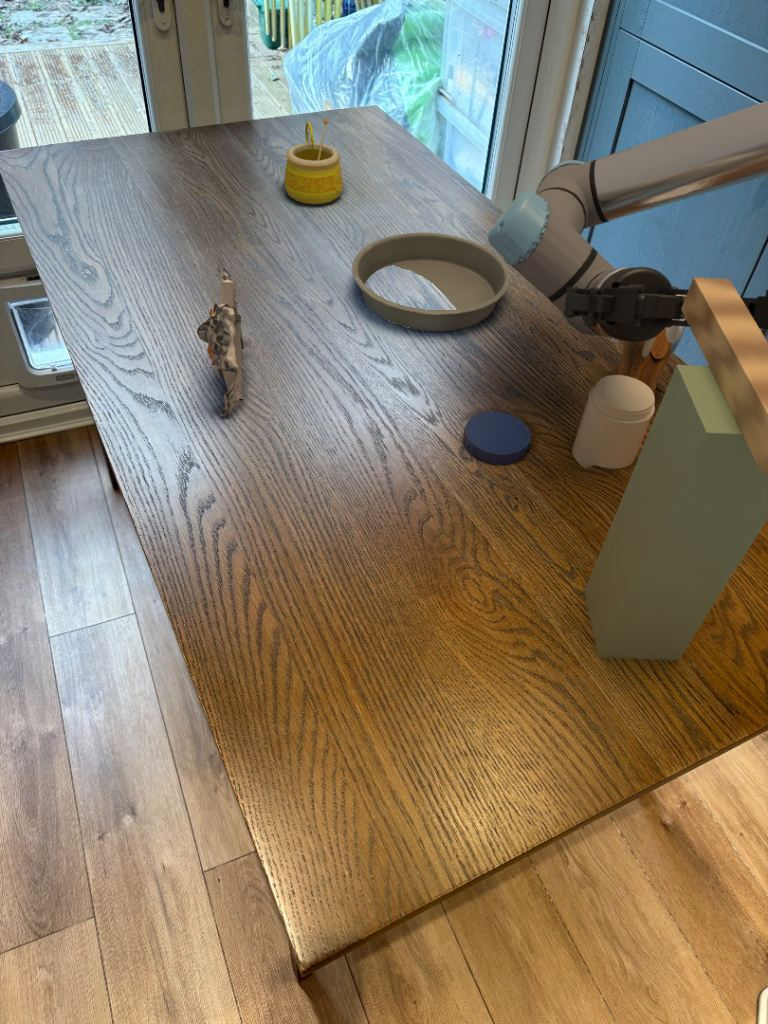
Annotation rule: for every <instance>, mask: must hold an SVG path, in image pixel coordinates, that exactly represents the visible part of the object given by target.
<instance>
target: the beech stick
mask: <svg viewBox="0 0 768 1024" xmlns="http://www.w3.org/2000/svg"><path fill="white" fill-rule="evenodd" d="M687 290H688V293H687V296H686V298H685V301H684V303H683V306H682V309H681V310H682V312H683V314H684V316H685V318H686V320H687V322H688V324H689V326H690V327H689V329H690V331H691V332H692V334H693V336H694V339H695V341H696V342H697V345H698V346H699V349H700V351H701V353H702V355H703V357H704V359H705V361H706V363H707V366H709V367H710V369H711V371H712V373H713V375H714V377H715V379H716V381H717V383H718V386H719V388H720V390H721V392H722V394H723V396H724V398H725V400H726V402H727V404H728V406H729V408H730V410H731V412H732V414H733V416H734V418H735V420H736V422H737V424H738V426H739V428H740V430H741V432H742V434H743V437H744V439H745V441H746V443H747V445H748V447H749V449H750V451H751V453H752V455H753V457H754V459H755V461H756V463H757V465H758V467H759V469H760V471H761V473H762V474H768V340H767V339H766V337H765V335H764V334H763V332H762V330H761V329H759V327H758V325H757V324H756V322H755V320H754V319H753V317H752V315H751V314H750V312H749V310H748V309H747V307H746V306H745V304H744V302H743V301H742V299H741V296H740V294H739V292H738V290H737V289H736V287H735V286H734V283H733V282H732V280H731V279H730V278H719V277H718V278H717V277H715V278H714V277H698V276H697V277H696V276H693V278H692V281H691V283H690V286H689V288H688V289H687Z"/></svg>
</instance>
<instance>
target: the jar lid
mask: <svg viewBox="0 0 768 1024" xmlns="http://www.w3.org/2000/svg"><path fill="white" fill-rule="evenodd" d="M531 436H532V435H531V431H530V428H529V427H528V426H527V424H526V423H525V422H524V421H523V420H521V419H520V418H518V417H517V416H515V415H512V414H510V413H506V412H503V411H495V410H491V411H490V410H489V411H483V412H480V413H476V414H475V415H473V416H471V418H469V419H468V421H467V422H466V424H465V427H464V432H463V436H462V440H463V446H464V447H465V448H466V450H467V452H468V453H470V454H471V455H472V457H475V458H476V459H478V460H480V461H482V462H484V463H488V464H493V465H511V464H514V463H516V462H519V461H520V460H521V459H523V458H524V457H526V455H527V453H528V452H529V449H530V445H531V439H532V437H531Z"/></svg>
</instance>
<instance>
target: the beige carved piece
mask: <svg viewBox="0 0 768 1024" xmlns="http://www.w3.org/2000/svg"><path fill="white" fill-rule="evenodd" d="M216 267H217V268H216V269H217V272H218V274H219V276H220V277H221V278H222V279H223V280H222V281H220V304H217V303H216V302H214V303H213V305H212V307H211V308H210V310H209V314H208V318H207V319H206V320H205V321H204V322H202V323H201V324H200V325H199V326H198V327H197V329H196V330H197V331H196V334H197V336H198V338H199V340H201V341H203V342H204V343H206V344H208V345H207V348H206V351H207V354H208V357H209V359H210V360H211V366H213V367H214V366H215V370H216V374H217V377H218V379H221V378H222V377H223V379H224V381H225V385H226V390H227V391H226V393H225V394H223V398H224V406H225V407H224V408H223V409H221V411H220V413H219V418H221V419H223V418H225V417H226V416H228V415H231V413H232V411H234V410H235V409H236V408H237V407H238V406H239V405H240V404H241V400H239V399H243V400H244V396H243V397H242V394H241V392H242V393H243V385H242V383H243V372H242V366H243V363H242V354H243V353H242V351H243V350H244V339H243V332H242V326H241V325H242V322H243V321H242V316H241V315H240V314H239V313H238V309H239V307H238V304H239V301H238V299H237V298H236V296H237V294H236V293H237V290H236V288H237V284H236V283H237V282H235V281H234V279H233V278H232V274H231V273H230V272H228V271H227V270H226V269H225V268H224V267H219V266H216ZM227 273H228V274H229V275H228V274H227ZM238 400H239V401H238ZM228 413H229V414H228Z"/></svg>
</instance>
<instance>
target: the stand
mask: <svg viewBox="0 0 768 1024" xmlns="http://www.w3.org/2000/svg"><path fill="white" fill-rule="evenodd" d="M767 521H768V474H762V473H761V471H760V469H759V467H758V465H757V463H756V461H755V459H754V457H753V455H752V453H751V451H750V449H749V447H748V445H747V443H746V441H745V439H744V437H743V434H742V432H741V430H740V428H739V426H738V424H737V422H736V420H735V418H734V416H733V414H732V412H731V410H730V408H729V406H728V404H727V402H726V400H725V398H724V396H723V394H722V392H721V390H720V388H719V386H718V383H717V381H716V379H715V377H714V375H713V373H712V371H711V369H710V367H709V365H692V364H691V365H690V364H676V365H675V368H674V370H673V373H672V375H671V378H670V379H669V383H668V384H667V387H666V390H665V392H664V395H663V398H662V399H661V403H660V405H659V406H658V410H657V412H656V415H655V417H654V419H653V421H652V424H651V426H650V429H649V431H648V434H647V436H646V439H645V441H644V444H643V446H642V449H641V450H640V453H639V456H638V458H637V460H636V463H635V466H634V468H633V470H632V473H631V475H630V478H629V480H628V483H627V485H626V488H625V490H624V493H623V495H622V498H621V500H620V502H619V505H618V507H617V509H616V512H615V515H614V517H613V520H612V523H611V525H610V527H609V530H608V532H607V534H606V537H605V539H604V542H603V545H602V547H601V549H600V551H599V554H598V555H597V556H598V557H597V559H596V561H595V563H594V566H593V569H592V571H591V574H590V576H589V578H588V580H587V583H586V585H585V588H584V591H583V595H584V599H585V603H586V608H587V613H588V617H589V623H590V627H591V631H592V635H593V640H594V644H595V649H596V653H597V657H598V658H606V659H608V658H609V659H636V660H641V659H642V660H662V661H663V660H664V661H679V660H680V659H681V658H682V656H683V654H684V653H685V651H686V649H687V648H688V646H689V645H690V643H691V642H692V640H693V638H694V636H696V634H697V632H698V631H699V629H700V627H701V626H702V624H703V622H704V621H705V619H706V618H707V616H708V614H709V613H710V611H711V610H712V609H713V607H714V605H715V603H716V602H717V600H718V599H719V597H720V595H721V594H722V593H723V591H724V590H725V587H726V586H727V585H728V583H729V581H730V579H731V578H732V577H733V575H734V573H735V571H736V570H737V568H738V567H739V565H740V564H741V562H742V561H743V559H744V557H745V555H746V554H747V552H748V551H749V550H750V548H751V546H752V545H753V543H754V541H755V540H756V538H757V537H758V535H759V534H760V532H761V530H762V529H763V527H764V525H765V524H766V522H767Z"/></svg>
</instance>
